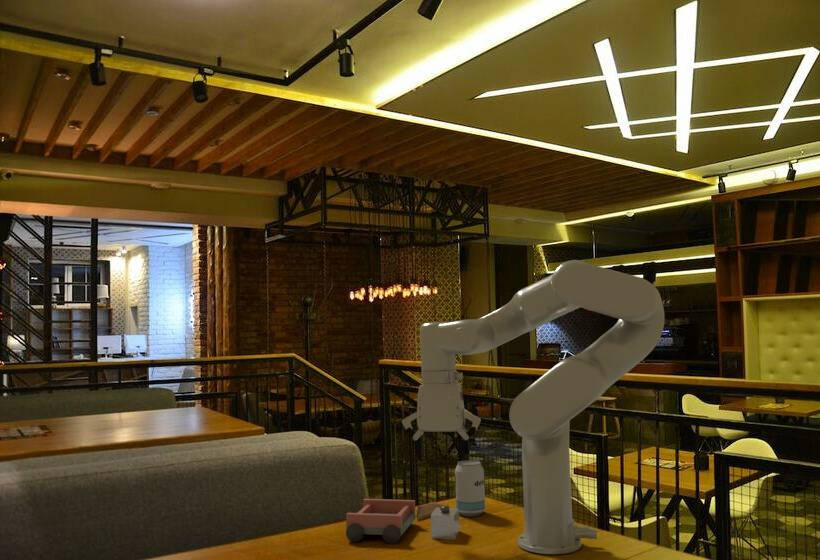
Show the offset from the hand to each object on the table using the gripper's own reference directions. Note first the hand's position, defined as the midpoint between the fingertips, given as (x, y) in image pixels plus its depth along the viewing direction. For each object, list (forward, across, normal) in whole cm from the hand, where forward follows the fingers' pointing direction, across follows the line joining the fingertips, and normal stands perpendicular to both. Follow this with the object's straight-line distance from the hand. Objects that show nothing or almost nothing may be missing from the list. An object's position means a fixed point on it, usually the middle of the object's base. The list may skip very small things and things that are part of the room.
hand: (442, 458), depth 144 cm
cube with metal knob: (+16, 0, 0) cm, 16 cm away
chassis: (+16, +14, 0) cm, 21 cm away
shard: (+17, +6, -16) cm, 24 cm away
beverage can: (+16, -3, -17) cm, 24 cm away
